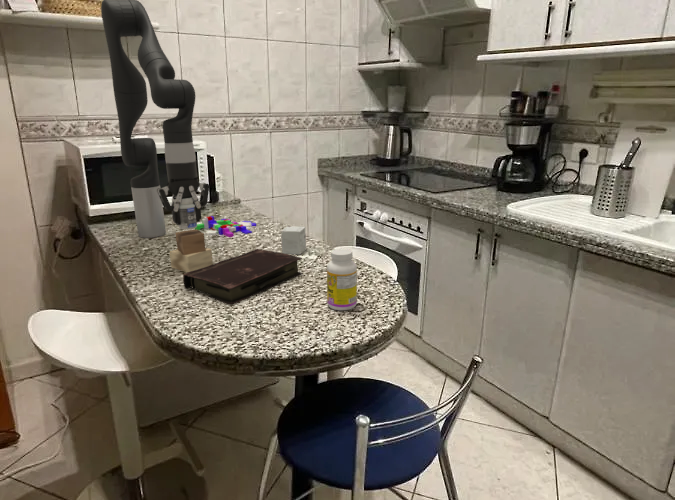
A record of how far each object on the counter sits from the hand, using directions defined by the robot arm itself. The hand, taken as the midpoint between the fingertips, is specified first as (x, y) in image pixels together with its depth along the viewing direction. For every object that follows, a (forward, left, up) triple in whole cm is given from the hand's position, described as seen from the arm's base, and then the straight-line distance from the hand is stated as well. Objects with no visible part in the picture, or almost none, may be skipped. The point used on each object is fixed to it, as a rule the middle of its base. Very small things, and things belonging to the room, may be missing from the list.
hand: (187, 222), depth 125 cm
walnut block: (0, 0, -8) cm, 8 cm away
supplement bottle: (+47, +17, -13) cm, 52 cm away
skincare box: (+6, +30, -13) cm, 33 cm away
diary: (+20, +7, -13) cm, 25 cm away
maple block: (0, 0, -13) cm, 13 cm away
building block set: (-34, +26, -13) cm, 45 cm away
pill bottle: (0, 0, -2) cm, 2 cm away
